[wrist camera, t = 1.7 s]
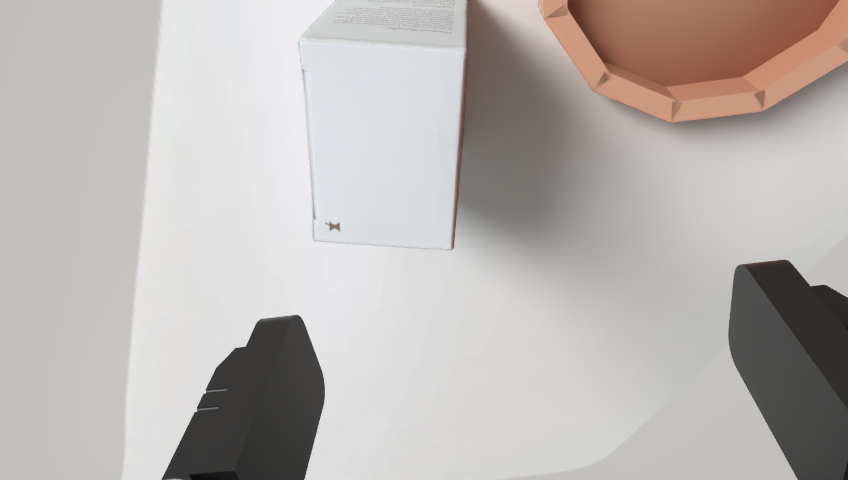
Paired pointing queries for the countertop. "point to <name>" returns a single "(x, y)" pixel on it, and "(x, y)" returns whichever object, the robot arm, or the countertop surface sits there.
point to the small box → (386, 120)
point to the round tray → (700, 51)
